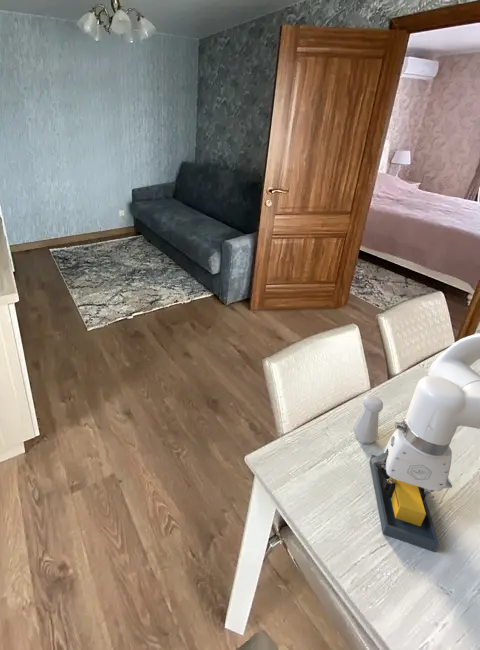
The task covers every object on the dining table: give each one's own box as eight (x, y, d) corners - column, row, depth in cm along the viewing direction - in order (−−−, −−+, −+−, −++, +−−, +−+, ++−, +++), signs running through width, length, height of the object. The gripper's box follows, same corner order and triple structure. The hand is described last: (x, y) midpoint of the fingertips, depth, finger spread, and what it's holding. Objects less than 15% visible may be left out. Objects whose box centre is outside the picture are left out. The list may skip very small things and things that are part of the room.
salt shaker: (378, 436, 90) (390, 399, 85) (372, 451, 86) (384, 413, 81) (354, 423, 94) (364, 387, 89) (347, 437, 90) (358, 400, 85)
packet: (420, 526, 69) (426, 514, 67) (395, 518, 70) (400, 505, 69) (406, 475, 79) (411, 463, 77) (384, 468, 80) (388, 456, 78)
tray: (412, 474, 81) (415, 466, 80) (435, 552, 67) (439, 544, 66) (369, 461, 84) (371, 454, 83) (382, 534, 69) (385, 526, 69)
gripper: (380, 438, 67) (360, 498, 74) (486, 466, 62) (454, 528, 69) (373, 408, 73) (355, 466, 80) (468, 431, 68) (441, 491, 75)
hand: (401, 494), depth 74 cm, fingers closed on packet, 4 cm apart
